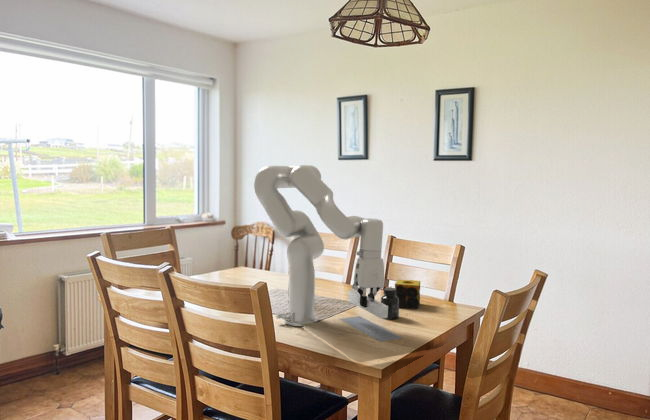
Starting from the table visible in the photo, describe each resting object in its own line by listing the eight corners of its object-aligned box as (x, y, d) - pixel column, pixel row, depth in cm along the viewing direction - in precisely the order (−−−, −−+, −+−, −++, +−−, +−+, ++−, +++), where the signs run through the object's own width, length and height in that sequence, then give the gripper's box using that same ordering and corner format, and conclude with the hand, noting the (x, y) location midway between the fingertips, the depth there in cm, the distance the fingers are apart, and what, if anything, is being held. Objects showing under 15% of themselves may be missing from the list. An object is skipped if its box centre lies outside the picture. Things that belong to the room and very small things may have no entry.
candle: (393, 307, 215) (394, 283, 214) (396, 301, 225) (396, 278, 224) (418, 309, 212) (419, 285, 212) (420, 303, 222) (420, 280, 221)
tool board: (380, 345, 169) (380, 341, 169) (338, 322, 193) (338, 318, 193) (403, 341, 173) (403, 337, 173) (359, 319, 198) (359, 316, 197)
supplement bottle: (397, 317, 200) (397, 287, 199) (400, 323, 193) (401, 291, 192) (379, 317, 200) (379, 286, 199) (381, 323, 193) (382, 291, 192)
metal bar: (381, 318, 173) (381, 306, 172) (348, 300, 192) (348, 290, 192) (387, 317, 174) (388, 306, 173) (353, 300, 193) (354, 289, 193)
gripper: (355, 257, 174) (352, 311, 176) (395, 255, 181) (391, 307, 183) (344, 253, 181) (341, 305, 182) (383, 251, 188) (380, 301, 190)
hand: (366, 305), depth 183 cm, fingers closed on metal bar, 2 cm apart
